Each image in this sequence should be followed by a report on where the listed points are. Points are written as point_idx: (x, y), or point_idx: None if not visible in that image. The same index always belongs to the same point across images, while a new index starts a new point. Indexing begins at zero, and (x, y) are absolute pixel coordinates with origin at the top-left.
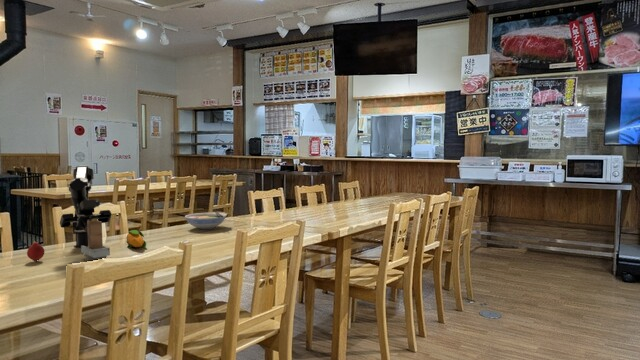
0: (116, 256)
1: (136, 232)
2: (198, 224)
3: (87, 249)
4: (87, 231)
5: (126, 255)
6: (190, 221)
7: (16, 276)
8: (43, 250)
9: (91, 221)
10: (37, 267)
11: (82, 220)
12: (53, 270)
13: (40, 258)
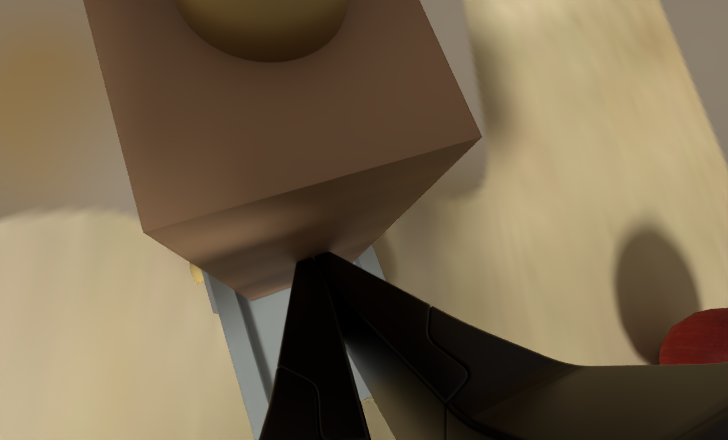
0: (110, 259)
1: None
2: None
3: None
4: (393, 221)
5: (14, 258)
6: None
7: (640, 39)
8: (702, 355)
9: (349, 38)
10: (606, 177)
11: (659, 380)
12: (508, 60)
13: (660, 350)
